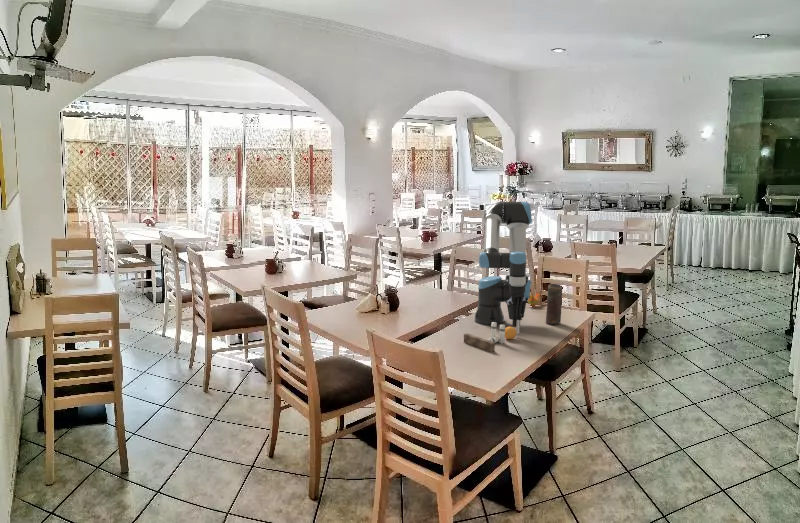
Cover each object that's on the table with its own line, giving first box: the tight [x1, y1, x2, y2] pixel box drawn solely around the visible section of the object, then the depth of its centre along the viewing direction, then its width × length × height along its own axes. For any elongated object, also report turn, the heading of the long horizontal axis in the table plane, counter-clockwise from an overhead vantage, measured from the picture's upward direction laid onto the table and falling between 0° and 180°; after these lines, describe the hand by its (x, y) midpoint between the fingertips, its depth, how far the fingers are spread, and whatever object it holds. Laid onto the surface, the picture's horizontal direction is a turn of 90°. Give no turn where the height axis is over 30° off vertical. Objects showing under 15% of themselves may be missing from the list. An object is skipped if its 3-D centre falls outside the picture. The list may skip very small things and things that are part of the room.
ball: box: [505, 326, 517, 340], centre depth 279 cm, size 6×6×6 cm
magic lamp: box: [526, 291, 542, 308], centre depth 340 cm, size 7×18×11 cm, turn 143°
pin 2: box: [498, 324, 506, 345], centre depth 273 cm, size 2×2×8 cm
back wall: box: [463, 333, 496, 353], centre depth 269 cm, size 18×2×4 cm, turn 36°
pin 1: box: [490, 322, 498, 338], centre depth 277 cm, size 2×2×8 cm
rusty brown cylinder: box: [545, 283, 563, 325], centre depth 303 cm, size 8×7×20 cm
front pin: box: [486, 336, 499, 344], centre depth 275 cm, size 2×2×8 cm
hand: (516, 333), depth 283 cm, fingers closed
